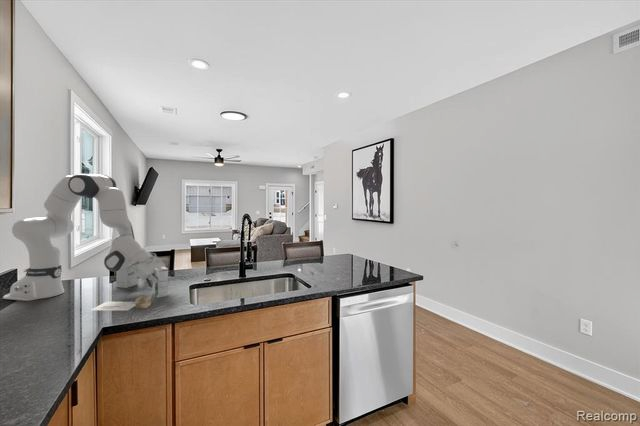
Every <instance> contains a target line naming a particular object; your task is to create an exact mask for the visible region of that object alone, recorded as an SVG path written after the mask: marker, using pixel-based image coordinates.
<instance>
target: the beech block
mask: <svg viewBox="0 0 640 426" xmlns="http://www.w3.org/2000/svg"><path fill="white" fill-rule="evenodd" d="M135 302H136V306H135V309H147V308H148V307H150V306H151V305H152V296H151V295H140V296H139V297H137V298H136V299H135Z"/></svg>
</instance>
